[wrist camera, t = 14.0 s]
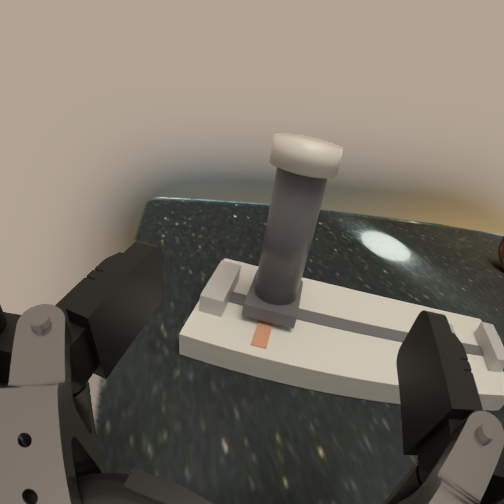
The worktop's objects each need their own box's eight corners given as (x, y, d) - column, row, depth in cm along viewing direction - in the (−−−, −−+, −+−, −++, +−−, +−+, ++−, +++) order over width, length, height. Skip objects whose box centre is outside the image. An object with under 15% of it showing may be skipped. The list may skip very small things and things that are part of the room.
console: (471, 334, 26) (486, 308, 24) (497, 410, 17) (522, 384, 15) (222, 276, 29) (226, 244, 27) (179, 354, 20) (179, 317, 19)
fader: (302, 292, 24) (341, 143, 19) (296, 329, 21) (345, 155, 15) (252, 279, 25) (279, 129, 19) (238, 314, 21) (267, 138, 15)
